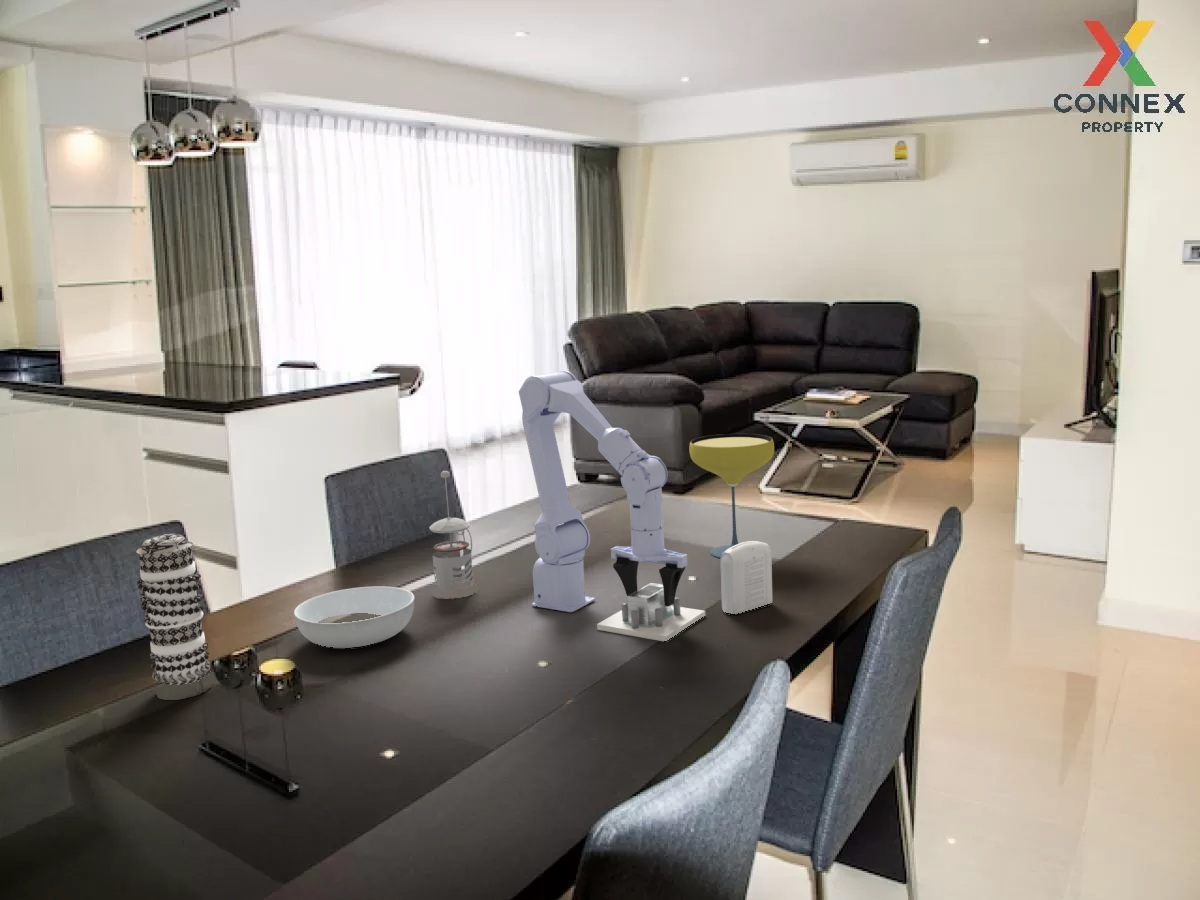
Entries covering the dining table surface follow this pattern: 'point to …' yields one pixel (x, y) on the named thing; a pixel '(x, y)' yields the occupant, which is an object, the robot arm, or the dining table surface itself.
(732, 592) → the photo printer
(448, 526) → the french press
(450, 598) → the dining table surface
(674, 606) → the dock
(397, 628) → the serving bowl
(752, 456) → the cocktail glass
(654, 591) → the block
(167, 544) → the decorative candle
